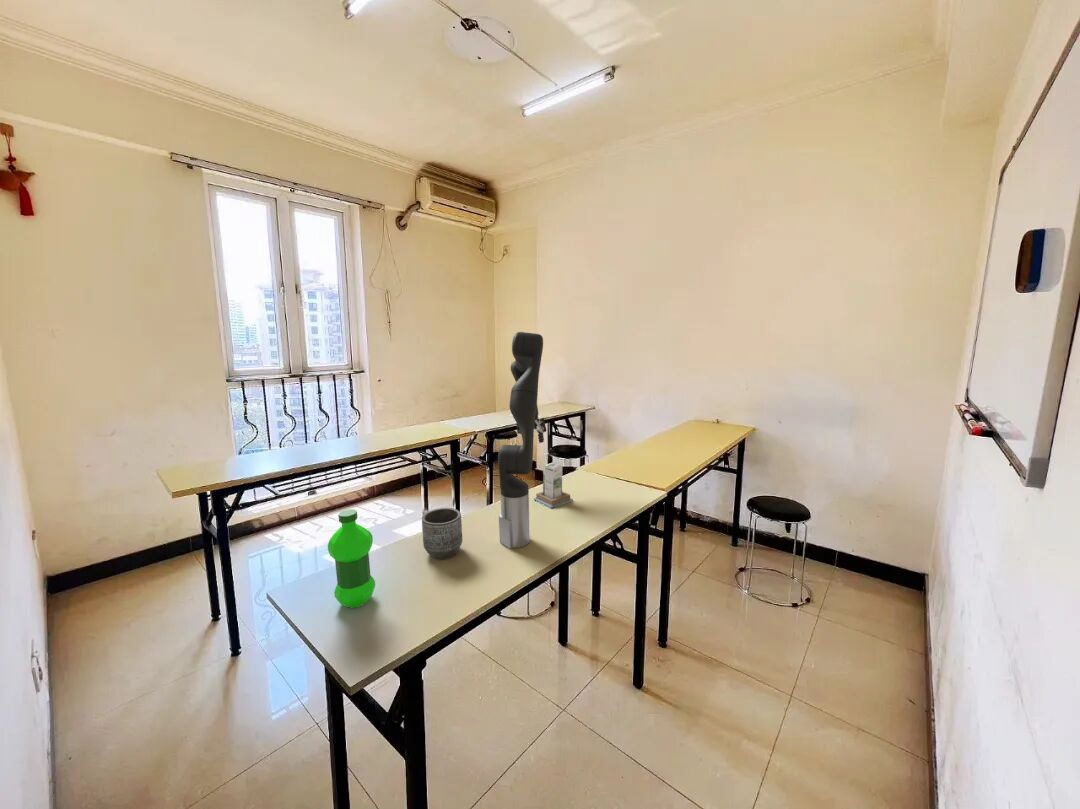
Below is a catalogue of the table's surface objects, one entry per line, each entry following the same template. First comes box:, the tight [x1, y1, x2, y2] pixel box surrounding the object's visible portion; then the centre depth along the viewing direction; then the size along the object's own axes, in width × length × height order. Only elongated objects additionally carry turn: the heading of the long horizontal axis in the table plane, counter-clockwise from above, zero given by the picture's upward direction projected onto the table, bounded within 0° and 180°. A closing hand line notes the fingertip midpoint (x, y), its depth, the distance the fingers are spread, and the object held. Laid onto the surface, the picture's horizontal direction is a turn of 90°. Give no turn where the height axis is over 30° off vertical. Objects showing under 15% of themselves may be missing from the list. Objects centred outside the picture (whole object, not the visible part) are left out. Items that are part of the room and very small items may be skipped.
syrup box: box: [542, 462, 563, 499], centre depth 175 cm, size 6×6×14 cm
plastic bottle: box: [327, 508, 376, 609], centre depth 110 cm, size 10×10×25 cm
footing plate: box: [533, 490, 574, 509], centre depth 176 cm, size 12×11×3 cm
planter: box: [421, 507, 463, 561], centre depth 135 cm, size 12×12×13 cm
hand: (533, 443), depth 178 cm, fingers open, 8 cm apart
